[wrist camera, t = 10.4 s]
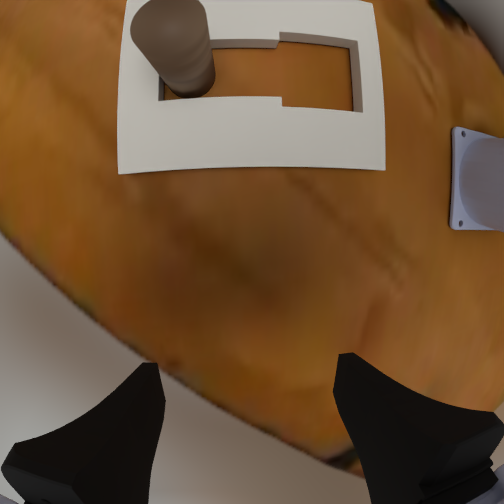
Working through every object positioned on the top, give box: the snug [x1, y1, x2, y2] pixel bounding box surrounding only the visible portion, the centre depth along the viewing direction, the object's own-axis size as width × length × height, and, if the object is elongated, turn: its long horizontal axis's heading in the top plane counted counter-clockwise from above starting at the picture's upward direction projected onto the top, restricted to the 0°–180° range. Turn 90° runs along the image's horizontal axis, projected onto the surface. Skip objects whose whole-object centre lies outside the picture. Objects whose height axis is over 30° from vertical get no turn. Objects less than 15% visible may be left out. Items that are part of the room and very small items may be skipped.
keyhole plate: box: [117, 0, 385, 174], centre depth 16 cm, size 16×12×2 cm
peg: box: [130, 0, 215, 99], centre depth 13 cm, size 3×3×8 cm
